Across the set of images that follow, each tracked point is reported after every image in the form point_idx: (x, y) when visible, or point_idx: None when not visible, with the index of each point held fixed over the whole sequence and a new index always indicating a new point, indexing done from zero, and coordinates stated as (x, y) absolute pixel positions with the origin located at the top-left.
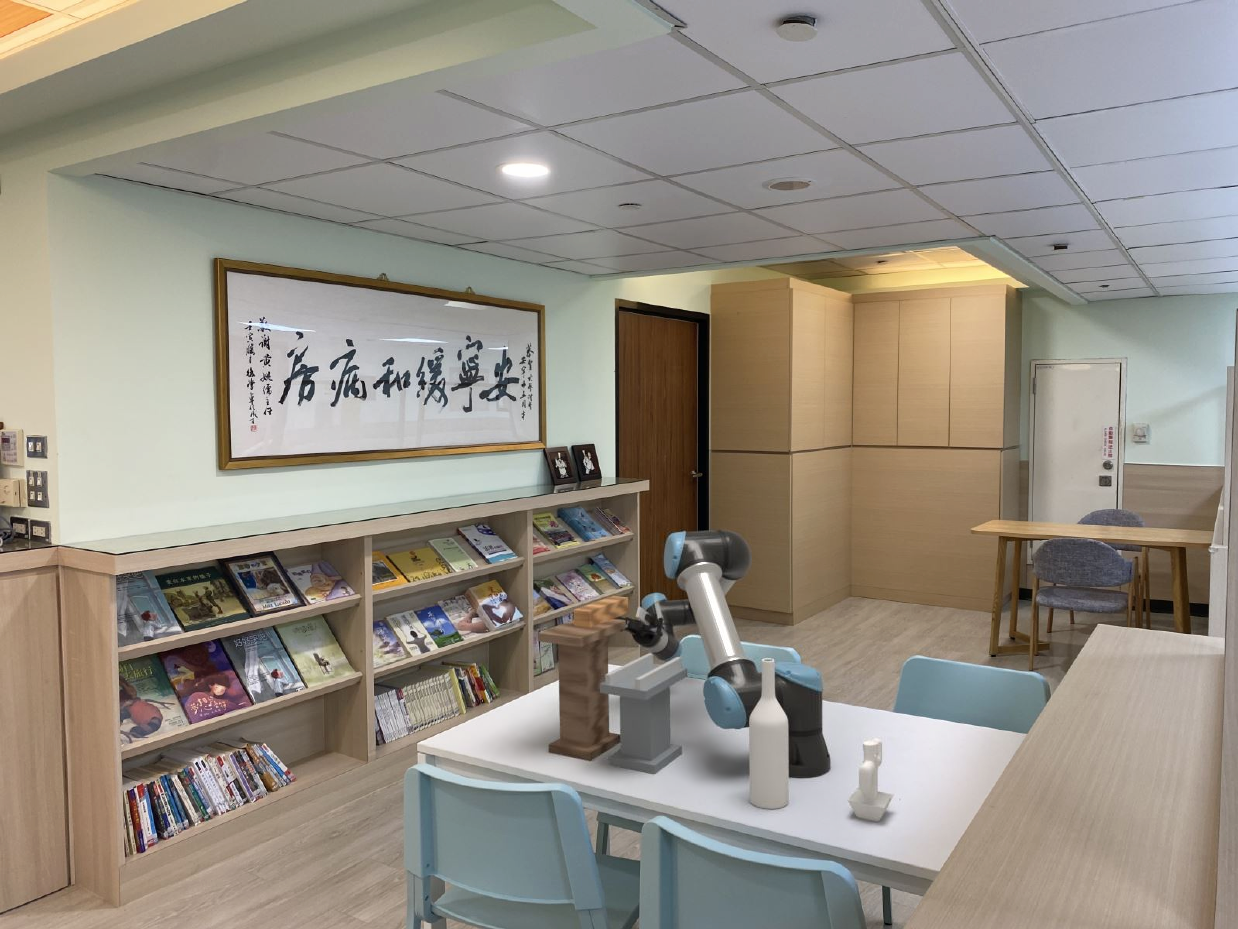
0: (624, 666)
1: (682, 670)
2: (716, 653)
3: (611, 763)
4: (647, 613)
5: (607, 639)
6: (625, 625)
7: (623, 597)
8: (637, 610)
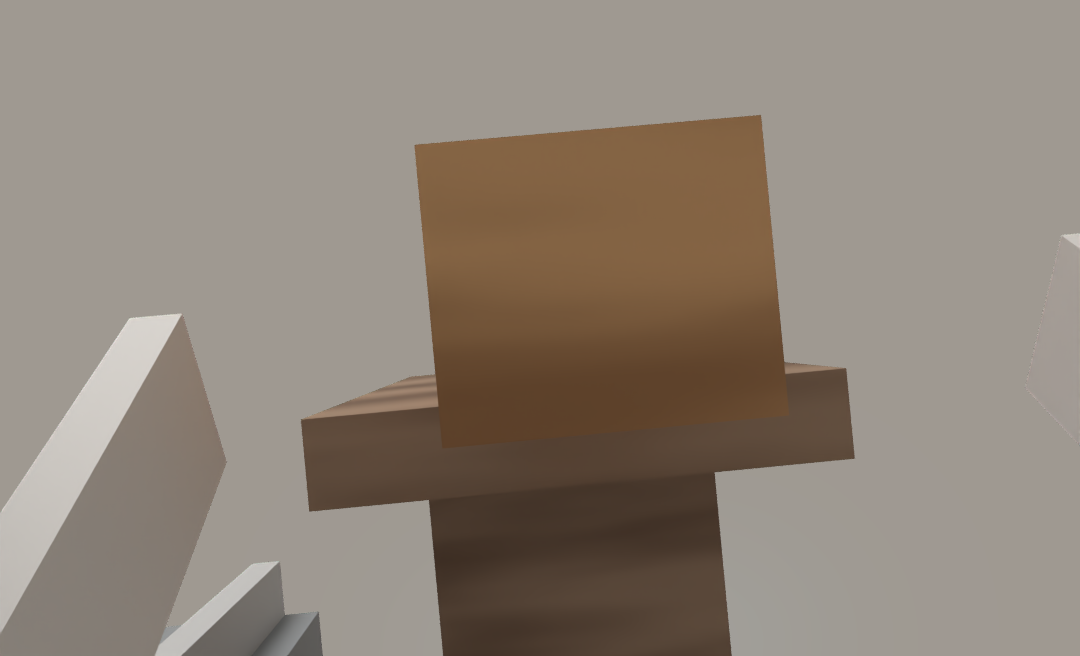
0: (207, 615)
1: None
2: None
3: None
4: (5, 535)
5: (432, 531)
6: (307, 478)
7: (501, 143)
8: (195, 371)
